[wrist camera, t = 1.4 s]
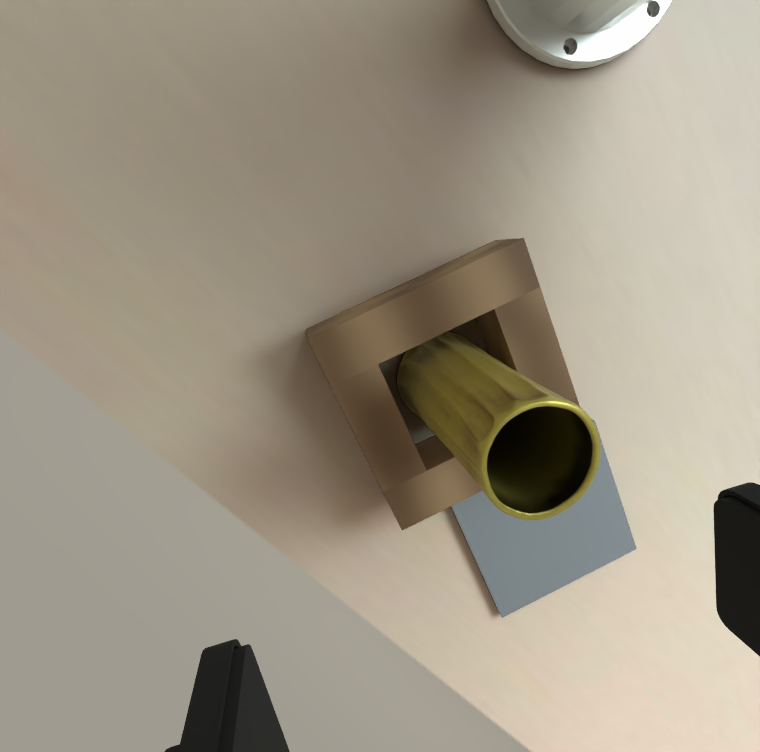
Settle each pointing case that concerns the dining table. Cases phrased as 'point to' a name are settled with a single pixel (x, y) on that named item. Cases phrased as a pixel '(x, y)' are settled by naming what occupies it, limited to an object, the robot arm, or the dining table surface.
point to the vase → (502, 426)
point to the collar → (415, 326)
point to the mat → (545, 542)
